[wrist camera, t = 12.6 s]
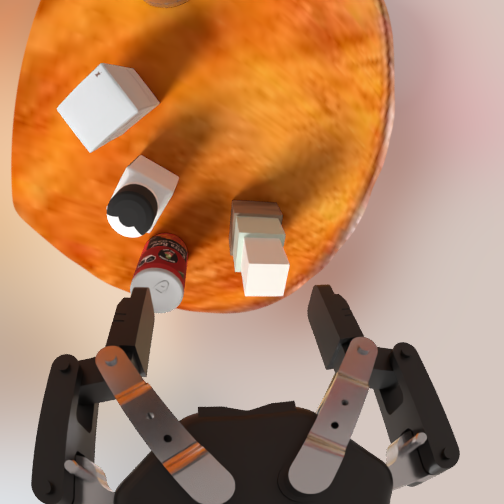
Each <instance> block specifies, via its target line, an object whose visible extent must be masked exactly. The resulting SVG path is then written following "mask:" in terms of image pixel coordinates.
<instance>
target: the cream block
mask: <svg viewBox="0 0 504 504" xmlns="http://www.w3.org/2000/svg"><path fill="white" fill-rule="evenodd" d="M289 265H290V264H289V262H288V259H287V257H286V254H285V251H284V249H283V246H282V244H281V241H280V239H279V238H255V237H244V240H243V250H242V260H241V272H242V279H243V286H244V292H245V296H283V294H284V289H285V284H286V280H287V275H288V270H289Z"/></svg>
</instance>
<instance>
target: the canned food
mask: <svg viewBox="0 0 504 504" xmlns="http://www.w3.org/2000/svg"><path fill="white" fill-rule="evenodd" d="M187 260H188V251H187V248H186V246H185V243H184V242H183V241H182V240H181V239H180V238H179V237H177V236H176V235H173V234H169V233H161V234H158V235H155V236H154V237H152V238H151V239H150V240H149V241H148V242H147V243H146V245H145V247H144V249H143V252H142V254H141V257H140V260H139V262H138V265H137V268H136V270H135V273H134V276H133V279H132V282H131V288H130V292H131V294H132V290H133V288H134V287H149V289H150V293H151V298H152V303H153V308H154V313H166V312H169V311H172V310H173V309H175V308H176V307H178V305H179V304H180V303H181V301H182V298H183V294H184V287H185V278H186V269H187Z"/></svg>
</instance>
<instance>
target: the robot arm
mask: <svg viewBox="0 0 504 504" xmlns="http://www.w3.org/2000/svg"><path fill="white" fill-rule="evenodd" d="M144 1H145V2H147V3H148V4H150V5H152V6H155V7H160V8H168V7H175V6H178V5H181V4H183V3H185V2H187V1H189V0H144ZM308 319H309V322H310V325H311V328H312V330H313V333H314V336H315V339H316V342H317V345H318V348H319V350H320V353H321V356H322V359H323V362H324V365H325V368H326V369H327V370H328V369H334V371H335V375H334V376H333V379H332V381H331V383H330V385H329V387H328V389H327V391H326V393H325V396H324V398H323V400H322V402H321V404H320V405H319V407H318V409H317V411H316V413H314V412H312V411H310V410H307V409H304V408H300V407H296V406H295V402H294V401H289V402H280V403H271V404H268V405H265V406H262V407H259V408H256V409H253V410H249V411H245V410H238V409H233V408H227V407H198V413H196V414H192V415H190V416H187V417H185V418H183V419H182V420H180V421H178V420H177V418H176V417H175V416H174V415H173V414H172V412H171V411H170V410H169V409H168V407H167V406H166V405H165V404H164V402H163V401H162V400H161V399H160V397H159V396H158V395H157V394H156V392H155V391H154V390H153V388H152V387H151V386H150V385H149V384H148V383H146V382H145V381H144V380H143V379H142V377H146V376H147V369H148V361H149V354H150V347H151V340H152V333H153V327H154V308H153V303H152V298H151V293H150V289H149V287H134V288H133V290H132V294H131V297H130V298H123V299H122V300H121V302H120V303H119V304H118V305H117V308H116V312H115V315H114V318H113V322H112V325H111V329H110V332H109V336H108V339H107V343H106V346H105V347H104V348H103V349H101V350H100V351H99V352H98V353H97V355H96V357H93V358H90V359H85V360H80V361H78V360H77V359H76V358H75V357H74V356H72V355H68V354H65V355H61V356H59V357H57V358H56V359H55V360H54V362H53V364H52V367H51V370H50V374H49V378H48V382H47V386H46V390H45V394H44V399H43V403H42V408H41V414H40V418H39V424H38V430H37V436H36V443H35V450H34V459H33V469H32V482H31V486H32V490H33V492H34V494H35V496H36V497H37V498H38V499H39V500H40V501H41V502H43V503H45V504H390V498H391V494H392V490H395V489H398V488H401V487H403V486H406V485H407V486H411V487H413V486H416V485H418V484H421V483H423V482H425V481H427V480H429V479H431V478H433V477H435V476H436V475H439V474H440V473H442V472H444V471H446V470H448V469H450V468H451V467H453V466H454V465H455V464H456V463H457V461H458V459H459V455H460V453H459V447H458V445H457V442H456V439H455V437H454V434H453V432H452V429H451V426H450V424H449V421H448V419H447V416H446V414H445V411H444V409H443V407H442V405H441V402H440V400H439V397H438V395H437V393H436V391H435V388H434V386H433V384H432V382H431V380H430V378H429V375H428V373H427V371H426V369H425V367H424V365H423V363H422V361H421V359H420V357H419V355H418V353H417V351H416V349H415V348H414V347H413V346H412V345H410V344H408V343H404V342H402V343H398V344H396V345H395V346H394V348H393V349H387V348H380V347H377V346H376V344H375V343H374V342H373V341H372V340H370V339H368V338H366V337H364V335H363V333H362V331H361V329H360V327H359V325H358V323H357V321H356V319H355V317H354V316H353V314H352V312H351V310H350V307H349V305H348V303H347V302H346V300H345V299H344V298H343V297H342V296H340V295H339V294H334V292H333V290H332V288H331V286H330V285H315V286H314V287H313V290H312V294H311V298H310V302H309V305H308ZM369 388H372V389H374V392H375V395H376V398H377V401H378V404H379V407H380V411H381V413H382V417H383V420H384V423H385V426H386V429H387V432H388V436H389V439H390V442H391V444H390V445H389V447H388V449H387V452H386V457H387V458H386V461H387V462H386V464H385V463H384V462H383V461H382V460H380V459H379V458H377V457H376V456H374V455H373V454H371V453H370V452H368V451H367V450H366V449H364V448H363V447H361V446H360V445H358V444H357V443H356V442H354V441H353V440H351V439H350V437H351V435H352V433H353V430H354V428H355V425H356V423H357V420H358V418H359V415H360V412H361V409H362V407H363V404H364V401H365V399H366V396H367V393H368V390H369ZM115 399H116V400H117V401H118V403H119V405H120V406H121V408H122V409H123V411H124V412H125V414H126V415H127V417H128V418H129V420H130V421H131V423H132V424H133V425H134V427H135V429H136V430H137V431H138V432H139V434H140V435H141V437H142V438H143V440H144V441H145V442H146V444H147V445H148V446H149V448H150V449H151V450H152V451H151V452H150V453H149V454H148V455H147V456H146V457H145V458H144V459H143V460H142V461H141V462H140V464H139V465H138V466H137V467H136V468H135V469H134V470H133V471H132V472H131V473H130V474H129V475H128V476H127V477H126V478H125V479H124V480H123V481H122V483H121V484H120V485H119V486H118V487H117V489H116V491H115V492H113V491H112V490H111V489H110V488H109V486H108V484H107V480H106V476H105V473H104V472H103V470H102V469H101V468H100V467H99V466H97V465H96V464H94V457H95V439H96V427H97V416H98V407H99V403H100V402H105V401H110V400H115Z"/></svg>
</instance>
